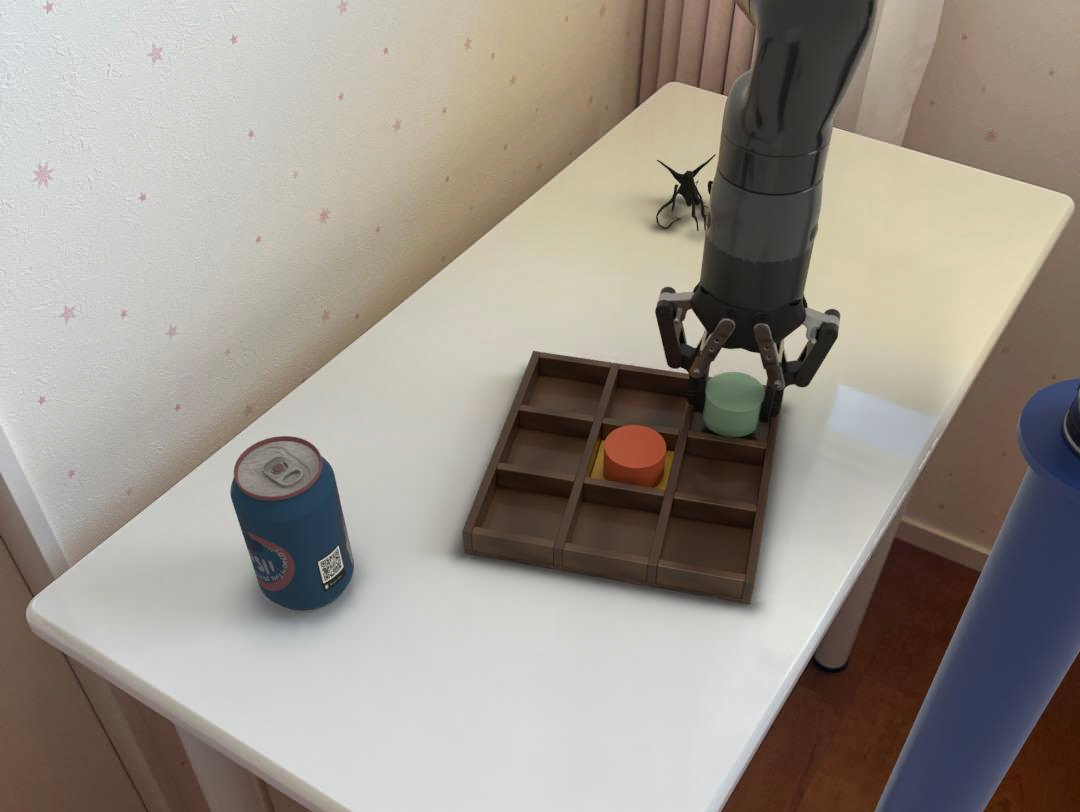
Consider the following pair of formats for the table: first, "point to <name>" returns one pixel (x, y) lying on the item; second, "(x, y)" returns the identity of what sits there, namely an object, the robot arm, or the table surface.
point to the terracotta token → (634, 456)
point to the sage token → (733, 404)
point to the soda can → (292, 522)
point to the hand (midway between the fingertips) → (731, 410)
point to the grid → (619, 508)
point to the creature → (687, 192)
